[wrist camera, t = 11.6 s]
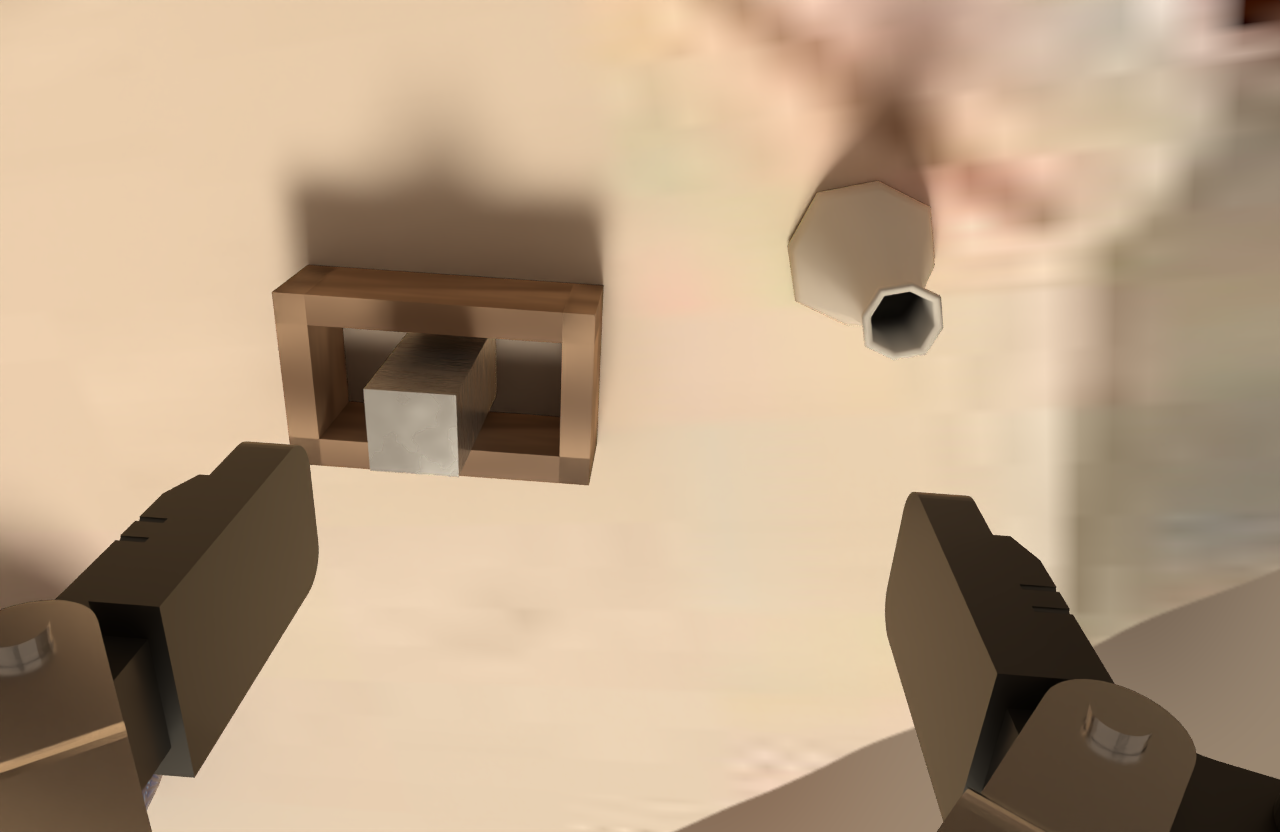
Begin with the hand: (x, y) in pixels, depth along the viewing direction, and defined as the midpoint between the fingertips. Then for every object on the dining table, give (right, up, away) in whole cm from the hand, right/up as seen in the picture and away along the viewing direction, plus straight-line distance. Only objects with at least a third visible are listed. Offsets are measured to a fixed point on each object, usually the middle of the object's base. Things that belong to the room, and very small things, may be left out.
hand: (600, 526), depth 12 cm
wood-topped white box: (-9, +5, +36) cm, 38 cm away
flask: (+11, +9, +33) cm, 36 cm away
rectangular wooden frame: (-9, +5, +36) cm, 38 cm away
